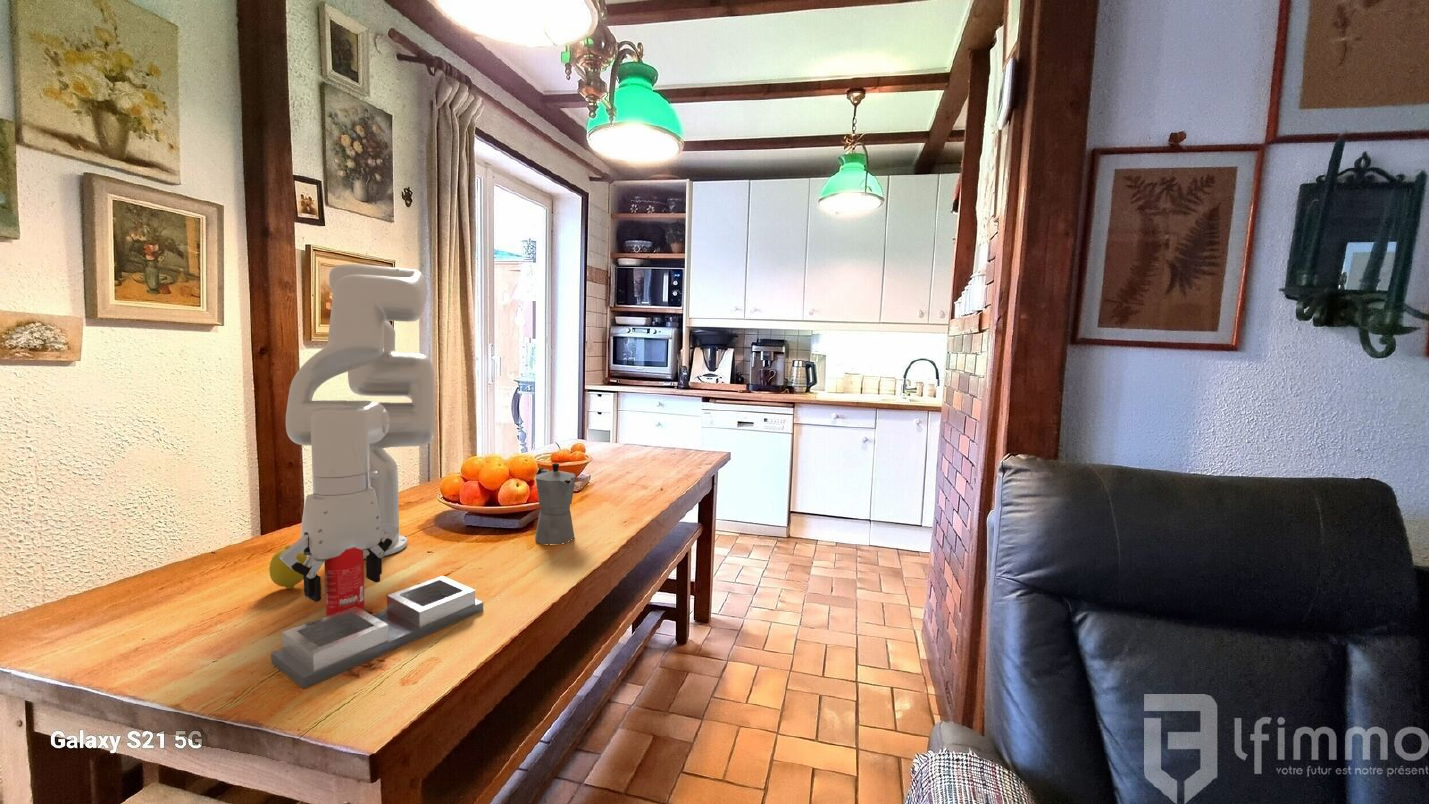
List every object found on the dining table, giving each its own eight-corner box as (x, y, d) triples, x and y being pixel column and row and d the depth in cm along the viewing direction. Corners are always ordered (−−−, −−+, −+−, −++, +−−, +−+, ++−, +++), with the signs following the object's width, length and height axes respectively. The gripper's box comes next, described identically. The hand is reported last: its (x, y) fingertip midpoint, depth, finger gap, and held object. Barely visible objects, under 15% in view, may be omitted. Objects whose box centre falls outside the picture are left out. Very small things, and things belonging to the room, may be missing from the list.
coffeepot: (587, 542, 125) (588, 465, 123) (549, 551, 118) (550, 471, 117) (555, 524, 136) (555, 454, 134) (518, 532, 129) (519, 459, 128)
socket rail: (271, 662, 75) (270, 635, 74) (448, 594, 97) (448, 572, 96) (303, 689, 70) (302, 659, 69) (483, 610, 92) (483, 587, 91)
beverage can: (323, 626, 85) (321, 552, 83) (329, 611, 89) (326, 541, 88) (362, 620, 87) (360, 548, 86) (366, 605, 92) (364, 537, 90)
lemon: (316, 586, 98) (314, 543, 97) (281, 598, 93) (279, 553, 92) (298, 579, 100) (296, 537, 99) (263, 591, 95) (261, 547, 94)
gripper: (386, 471, 95) (388, 566, 97) (264, 490, 80) (269, 603, 82) (410, 477, 91) (411, 577, 93) (286, 499, 77) (291, 617, 78)
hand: (344, 588), depth 88 cm, fingers open, 8 cm apart
